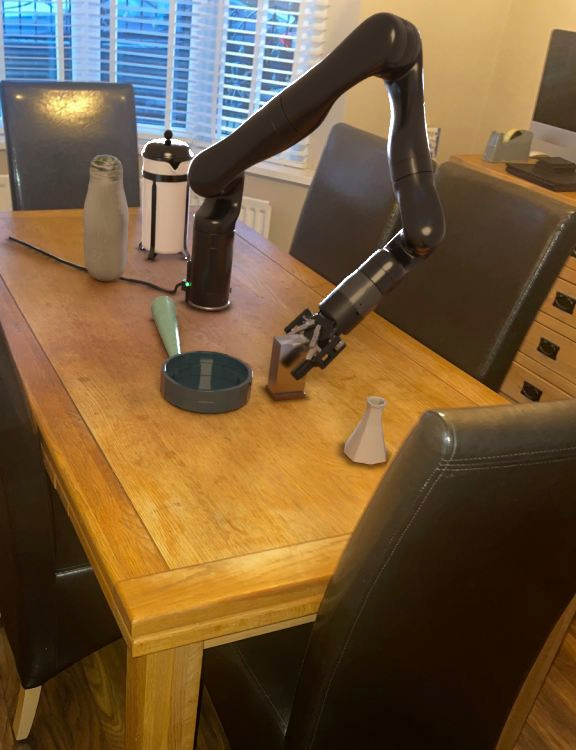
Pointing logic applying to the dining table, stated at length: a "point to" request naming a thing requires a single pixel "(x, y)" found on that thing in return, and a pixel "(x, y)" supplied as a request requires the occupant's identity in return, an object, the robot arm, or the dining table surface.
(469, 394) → the dining table surface
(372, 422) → the flask
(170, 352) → the mint green cone
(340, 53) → the robot arm
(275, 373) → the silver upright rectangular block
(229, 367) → the bowl
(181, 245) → the coffee press
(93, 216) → the glass bottle
